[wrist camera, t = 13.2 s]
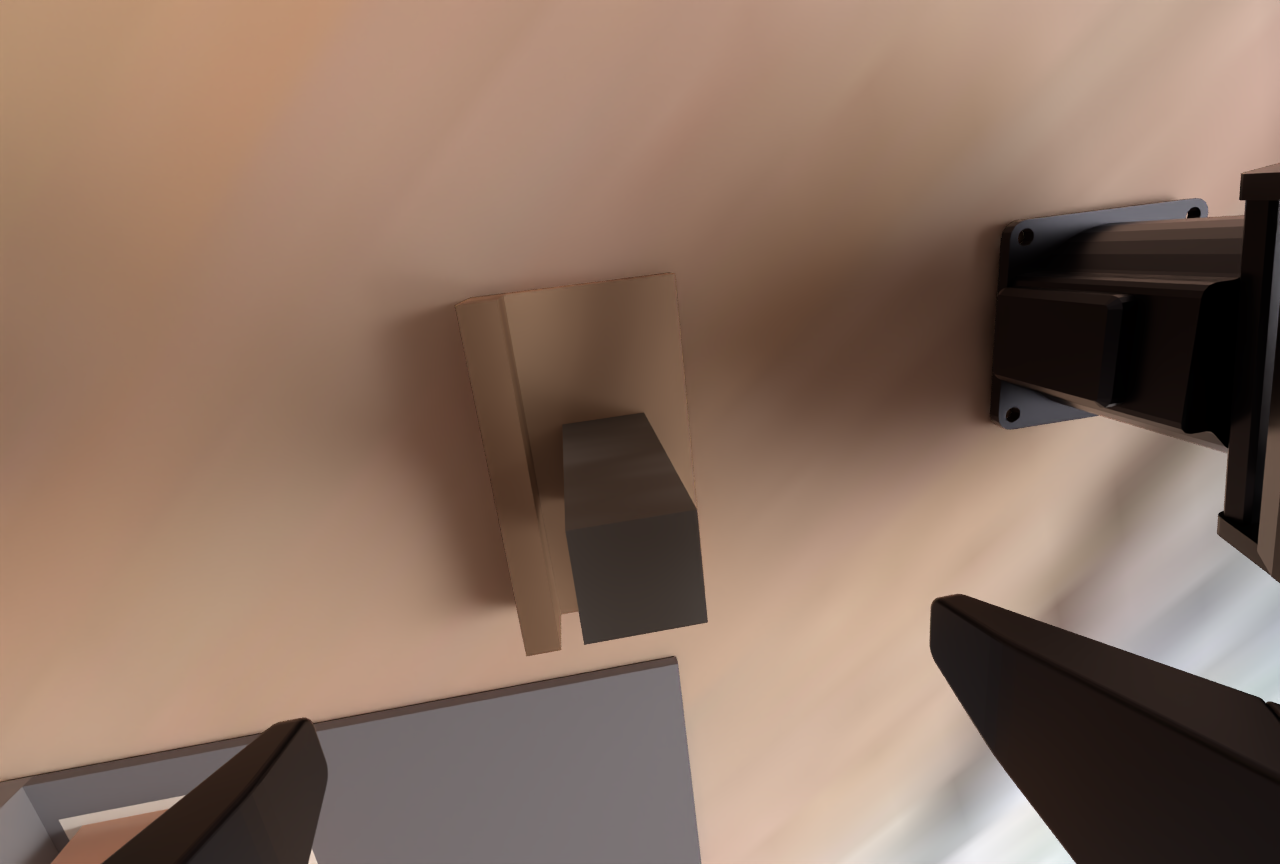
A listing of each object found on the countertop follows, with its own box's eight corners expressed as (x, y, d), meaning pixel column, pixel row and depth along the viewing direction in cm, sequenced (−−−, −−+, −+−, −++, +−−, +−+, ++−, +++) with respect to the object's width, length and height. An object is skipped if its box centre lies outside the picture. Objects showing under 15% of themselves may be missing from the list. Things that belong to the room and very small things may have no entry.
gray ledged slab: (675, 656, 21) (687, 694, 19) (700, 864, 24) (711, 914, 22) (-1, 782, 19) (-60, 838, 17) (117, 992, 22) (77, 1058, 20)
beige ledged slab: (668, 272, 17) (754, 286, 10) (698, 573, 20) (781, 763, 13) (470, 297, 17) (400, 332, 9) (530, 602, 20) (513, 818, 12)
